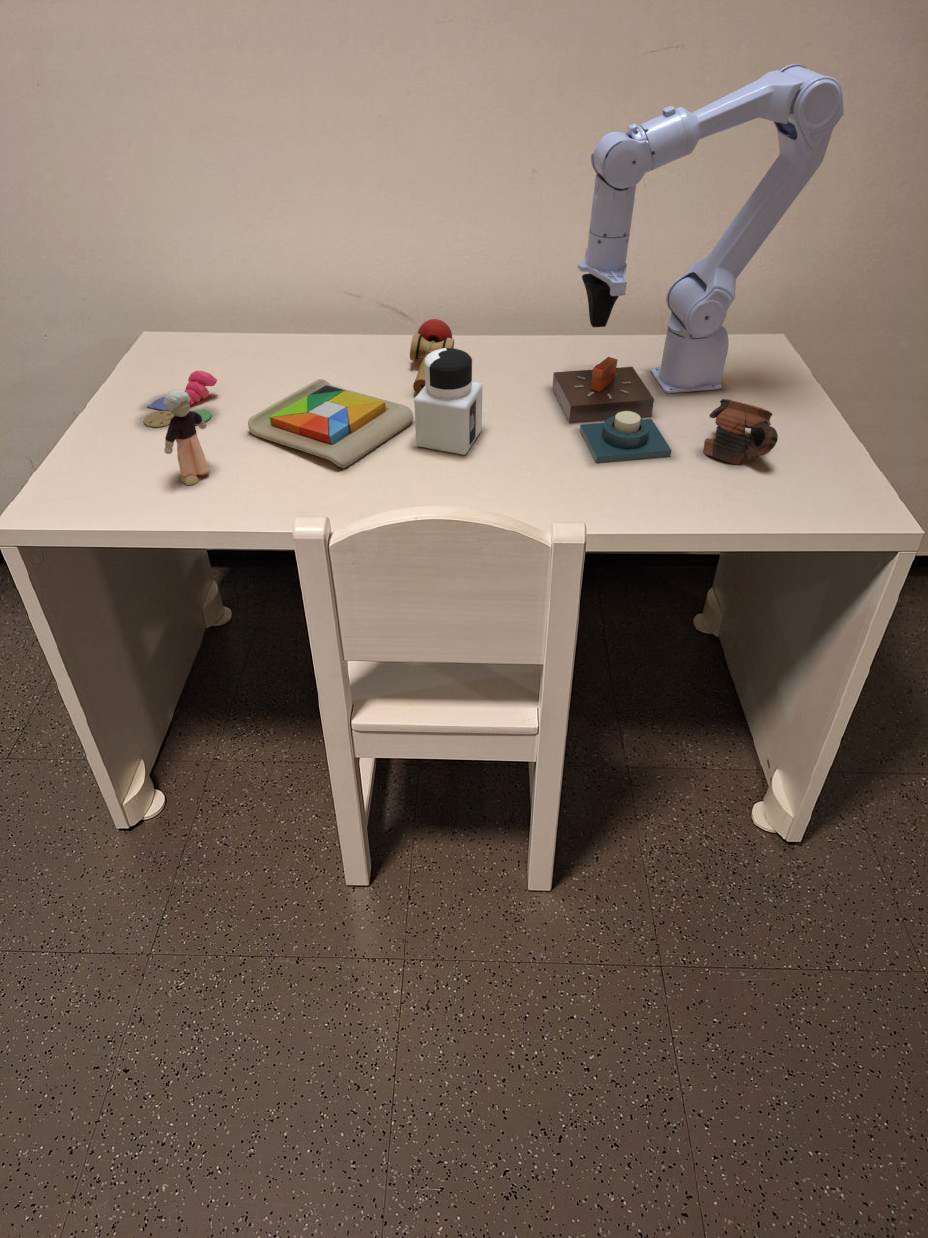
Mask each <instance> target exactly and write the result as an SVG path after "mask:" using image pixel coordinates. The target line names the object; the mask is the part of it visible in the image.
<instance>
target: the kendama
mask: <svg viewBox="0 0 928 1238" xmlns="http://www.w3.org/2000/svg"><path fill="white" fill-rule="evenodd" d="M454 347H455V339H454V338H453V332H452V330H451V328H450V326H449V325H448V324H447V323H446V322H445V321H443V320H442V319H438V318H431V319H428V320H426V321H424V322H423V323H422V324H421V325H420V326H419V328H418V330H417V333H413V335H412V338H411V343H410V348H409V360H410V361H413V362H416V361H418V360H421V359H422V361H421V363H420V365H419V369H418V371H417V375H416V377H415V379H414V382H413V384H412V385H413V386H412V388H413V391H414V392H415V393H416V394H417V395H418V394H419V393H420V391H421V390H422V389H423V388H424V386H425V358H426V357H427V355H428V354H429V353H431V352H433V351H435V350H438V349H443V348H454ZM454 349H455V348H454Z"/></svg>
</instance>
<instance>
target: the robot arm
mask: <svg viewBox="0 0 928 1238" xmlns="http://www.w3.org/2000/svg"><path fill="white" fill-rule="evenodd" d="M843 94H844V93H843V89H842V86H841V84H840V82H839V81H838V79H835V78H834V77H832V76H830V75H823V74H821V73H819V72H817V71H813V70H811V69H808V68H807V66H805V65H802V64H800V63H792V64H788V65H785V66H784V67H782V68H781V69H776V70H771V71H769V72H766V73H765V74H764V75H762V76H761V77H760V78H758V79H757V80H755V81H753V82H751V83H749V84H746V85H745V86H742V87H741V88H739V89H736V90H734V91H732V92H731V93H729V94H727V95H725V96H723V97H721V98H719V99H717V100H715V101H713V102H710V103H708V104H707V105H704V106H702V107H700V108H698V109H697V110H695V111H693V112H691V111H689V110H688V109H686V108H685V107H682V106H680V107H677V108H675V107H674V106H672V105H669V106H667V107H664V108H663V109H662V110H661V111H662V114H661V115H658V116H656V117H654V118H652V119H649V120H646V121H645V122H643V123H640V124H637V123H636V122H634V123H632V124H629V125H628V126H627V131H626V133H625V132H624V131H619V130H618V131H617V130H615V131H610V132H609V133H608V132H607V133H606V134H605V135H603V136H602V137H601V138H600V141H598V142H597V143H596V145H595V148H594V149H593V153H591V154H590V164H591V166H592V169H593V171H594V172H595V174H596V175H595V178H594V179H595V180H594V187H593V188H594V189H593V194H592V202H591V212H590V213H591V214H590V221H589V229H588V241H587V246H585V253H584V261H579V262H578V263H577V269H578V270H579V271H580V272H583V273H584V272H586V273H584V274H582V275H581V280H582V282H583V285H584V287H585V292H586V296H587V297H586V298H587V305H588V315H589V316H588V317H589V323H590V326H591V327H592V328H605V327H607V324H608V321H609V319H610V316H611V313H612V311H613V308H614V306H615V304H616V302H617V300H618V298H619V297H621V296H625V295H626V291H627V284H628V282H627V279H626V274H627V273H626V272H627V268H628V267H627V266H628V264H627V257H628V250H629V243H630V242H629V241H630V235H631V227H632V221H633V220H632V219H633V213H634V206H635V196H636V189H637V185H638V184H639V183H640V182H641V180H642V179H643V177H644V175H645V174H647V173H649V172H651V171H654V170H657V169H658V168H662V167H663V166H666V165H668V164H670V163H672V162H675V161H677V160H679V159H682V158H685V157H686V156H689V155H691V154H692V153H693V152H694V150H695V148H696V146H697V145H698V143H699V141H701V140H702V139H705V138H707V137H709V136H712V135H716V134H718V133H720V132H721V133H722V132H723V131H726V130H729V129H732V128H734V127H737V126H740V125H742V124H746V123H748V122H751V121H753V120H756V119H763V120H767V121H770V122H773V124H774V126H775V128H776V131H777V140H778V149H779V154H778V156H777V157H776V159H775V161H774V162H773V163H772V164H771V166H770V167H769V169H768V170H767V172H766V173H765V175H764V176H763V178H762V179H761V180H760V181H759V183H758V184H757V186H756V187H755V189H754V190H753V191H752V193H751V194H750V196H749V197H748V199H747V200H746V202H745V203H744V204H743V206H742V207H741V208H740V210H739V212H738V213H737V214H736V216H735V217H734V218H733V220H732V221H731V223H730V224H729V226H728V227H727V228H726V230H725V231H724V233H723V234H722V235H721V237H720V238H719V239H718V241H717V242H716V243H715V245H714V246H713V248H712V249H711V251H710V252H709V253H708V254H707V256H706V257H705V258H703V259H700V260H698V261H695V262H694V263H692V264H691V266H690V267H689V268H688V270H687V271H686V272H685V273H684V274H682V275H681V276H679V277H677V278H676V279H675V280H674V281H673V282H672V283H671V285H670V286H669V287H668V290H667V293H666V299H665V301H666V305H667V308H668V309H669V311H670V317H669V320H668V323H667V329H666V335H665V340H664V346H663V351H662V358H661V363H660V367H654V368H650V373H651V374H652V376H653V378H654V379H655V380H656V382H657V383H658V384H659V386H660V387H661V389H662V390H663V392H664V393H666V394H675V393H676V394H677V393H688V392H703V391H715V390H716V391H717V390H721V389H722V388H723V385H722V384H721V383H722V377H723V374H724V371H725V366H726V362H727V358H728V357H727V356H728V352H729V344H730V343H729V334H728V331H727V328H726V327H724V326H723V324H724V322H725V320H726V317H727V313H728V310H729V309H730V306H731V304H732V303H733V302H734V301H735V300H736V299H735V298H736V288H737V286H736V285H737V279H738V277H739V276H740V275H741V273H742V272H743V270H744V269H745V268H746V267H747V265H748V264H749V263H750V261H751V260H752V258H753V257H754V256H755V255H756V253H757V251H758V250H759V249H760V248H761V247H762V245H763V243H764V242H765V241H766V239H767V238H768V237H769V235H770V234H771V233H772V231H773V230H774V229H775V227H776V226H777V225H778V224H779V222H780V221H781V220H782V218H783V217H784V216H785V214H786V213H787V211H788V210H789V208H790V207H791V206H792V204H793V203H794V202H795V200H796V199H797V197H798V196H799V195H800V193H801V192H802V191H803V189H804V188H805V187H806V186H807V184H808V182H809V181H810V180H811V178H812V177H813V176H814V175H815V173H816V172H817V170H818V169H819V168H820V166H821V165H822V163H823V161H824V158H825V155H826V153H827V149H828V146H829V144H830V140H831V137H832V134H833V131H834V128H835V127H837V124H838V123H839V122H840V121H841V119H842V117H843V116H844V113H845V110H844V109H845V107H844V97H843V96H844V95H843Z"/></svg>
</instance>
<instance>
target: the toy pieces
mask: <svg viewBox="0 0 928 1238" xmlns="http://www.w3.org/2000/svg"><path fill="white" fill-rule="evenodd" d="M187 381H188V382H187V384H186V386H185V388H184V390H183V391H184V392H186V393H187V394H188V395H189V396H190V401H189V405H190V406H191V405H194V404H195V403H199V402H201V400H202V399H207V398H208V396H209V394H210V392H209V390H208V387H215V385H216V384H217V382H218V379H217V378H216V377H214V375H212V374H211V373H210V372H208V371H204V370H195V371H193V372H191V373H190V375H189V377H188V379H187ZM164 399H165V396H163V397H159V398H156V399H155V400H154V401H153V402H152V403H150V404H147V405H146V407H147V408H150V409H156V410H158V411H153V412H150V413H149V414H147V415H146V416H145V417H144V418H143V419H142V420H143V421H142V422H143V424H144V425H145V426H147V427H151V428H161V427H166V426H169V424H170V421H171V419H172V418H173V417H174V416H175V415H173V414H172V413H171V411H170V410H168V409H167V408H166V405H165V404H164ZM193 411H194V412H196V413H198V414H199V415H201V417H202V419H203V421H204V422H205V423H206V422H208V421H209V420H210V419H211V418H212V416H213V413H212V412H211V410H209V409H205V408H203V409H196V410H193ZM195 426H198V425H197V424H196V425H195Z"/></svg>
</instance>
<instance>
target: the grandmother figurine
mask: <svg viewBox="0 0 928 1238" xmlns="http://www.w3.org/2000/svg"><path fill="white" fill-rule="evenodd" d="M184 391H185V390H181V389H171V390H170V391H168V393H167V394H165V396H164V397H165V399H164V404H165V405H166V408H167V409H168V410H167V411H170V412H171V413H172V414H173V415H175V416H174V417H173V418H172V419H170V420H171V421H170V420H169V421H170V424H168V426H167V430H166V435H165V438H164V439H165V443H164V446H165V447H164V449H163V451H164V453H165V454H166V455H171V454H172V453H173V447H174V444H175V442H176V451H177V455H176V457H177V462H178V466H179V470H180V471H179V472H180V474H181V475H180V481H181V482H182V483H184V484H185V485H187V486H192V485H195V484H197V483H199V479H200V478H199V477H204V476H207V475H208V474H210V472H211V469H210V467H209V464H208V463H209V462H208V460H207V458H206V456H205V455H206V454H205V452H204V450H203V447H202V445H201V442H200V439H199V437H198V433H197V429H196V426H198V428H199V429H201V430H205V429H207V423H206V422H204V421H203V419H202V417H201V415H199V414H198V413H196V412H194V411H195V410H191V407H190V406H191V405H189V401H190V396H189V395H188V394H187V393H186V392H184ZM196 424H197V425H196ZM198 476H199V477H198Z"/></svg>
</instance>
